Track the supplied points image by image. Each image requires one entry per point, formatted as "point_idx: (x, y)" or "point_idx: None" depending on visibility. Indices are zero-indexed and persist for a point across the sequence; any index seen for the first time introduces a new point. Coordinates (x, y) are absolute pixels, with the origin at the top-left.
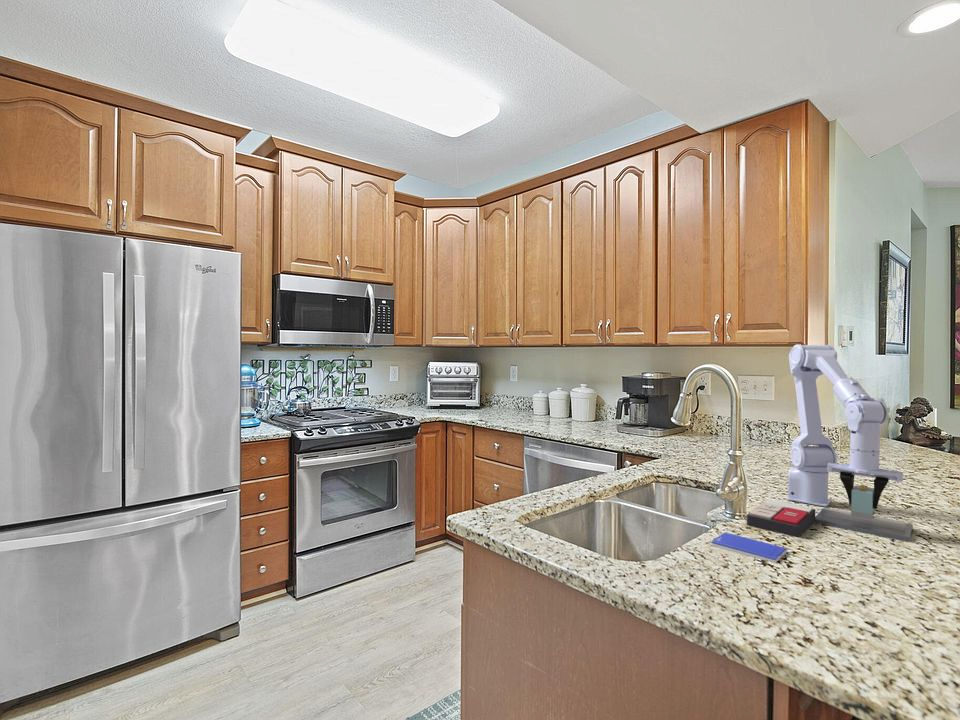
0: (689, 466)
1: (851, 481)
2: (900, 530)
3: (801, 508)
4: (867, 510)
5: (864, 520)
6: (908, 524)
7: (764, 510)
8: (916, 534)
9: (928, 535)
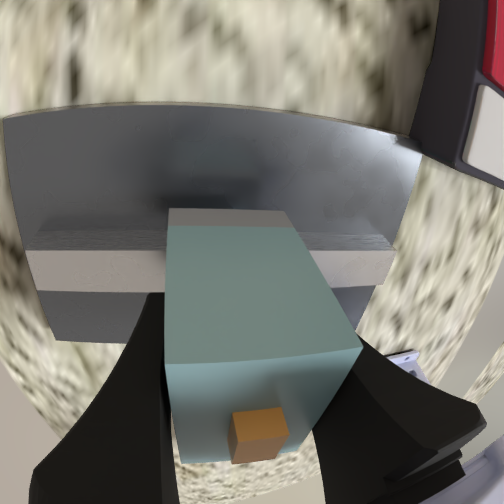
0: (482, 391)
1: (392, 433)
2: (51, 217)
3: (501, 127)
4: (198, 236)
5: None
6: (63, 331)
7: None
8: (26, 265)
9: (2, 281)
